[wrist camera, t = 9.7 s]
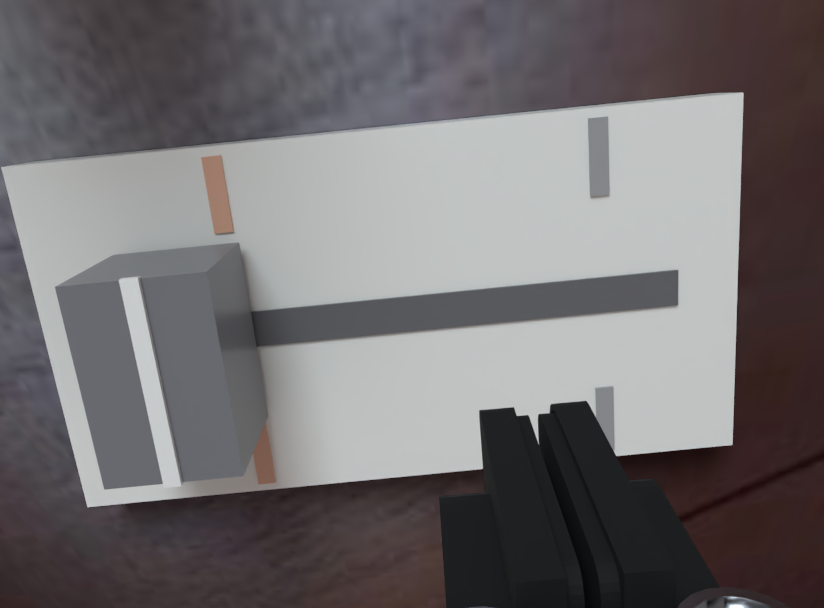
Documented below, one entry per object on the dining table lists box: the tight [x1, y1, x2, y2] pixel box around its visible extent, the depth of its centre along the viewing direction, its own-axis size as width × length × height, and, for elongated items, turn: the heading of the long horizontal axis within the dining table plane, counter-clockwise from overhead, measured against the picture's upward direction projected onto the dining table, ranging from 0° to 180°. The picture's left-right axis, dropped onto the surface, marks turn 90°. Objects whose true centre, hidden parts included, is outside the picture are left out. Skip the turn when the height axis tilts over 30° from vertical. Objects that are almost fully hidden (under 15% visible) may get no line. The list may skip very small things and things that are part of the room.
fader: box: [55, 242, 268, 490], centre depth 21 cm, size 4×6×4 cm, turn 6°
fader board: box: [1, 93, 743, 507], centre depth 25 cm, size 23×12×2 cm, turn 96°
